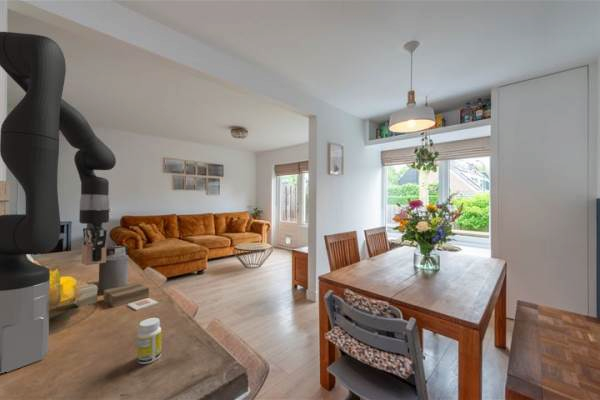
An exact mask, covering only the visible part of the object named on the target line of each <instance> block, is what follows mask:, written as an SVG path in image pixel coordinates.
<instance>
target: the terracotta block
mask: <svg viewBox="0 0 600 400" xmlns="http://www.w3.org/2000/svg"><path fill="white" fill-rule="evenodd" d="M98 244H99V243H98ZM106 247H107V244H106V243H105V248H103V249H102V258H101V261H96V262H94V261H92V250H93V249H92V244H88V245H84V244H82V245H81V264H82V265H85V266H91V265H99V263H105V262H106Z"/></svg>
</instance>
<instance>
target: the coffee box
mask: <svg viewBox="0 0 600 400" xmlns="http://www.w3.org/2000/svg"><path fill="white" fill-rule="evenodd" d="M128 247H129V246H127V245H107V246H106V256H110V255H113V254H114V255H128V253H129V252H128V251H129V249H128ZM128 256H129V255H128Z"/></svg>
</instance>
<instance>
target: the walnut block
mask: <svg viewBox="0 0 600 400" xmlns="http://www.w3.org/2000/svg"><path fill="white" fill-rule="evenodd" d="M149 292H150V288H149V287H148V286H145V285H143V284H141V283H138V282H135V283H134V282H133V283H128V285H124V286H120V287H115V288H111V289H106V290H104V294H102V296H103V297H102V298H103V299H104V300H105V301H106V302H105V301H104V300H103V301H104V302H105V303H107V302H108V303H109V304H108V303H107V304H108V305H110V306H111V307H112V308H117V307H120V306H124V305H127V304H130V303H133V302H136V301H140V300H143V299H147V298H150V297H149V296H150V293H149Z"/></svg>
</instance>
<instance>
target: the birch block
mask: <svg viewBox="0 0 600 400" xmlns="http://www.w3.org/2000/svg"><path fill="white" fill-rule="evenodd" d="M78 290H79V291H80V292H84V293H83V294H82V296H81V297H80V298H79V300H78V301H77V303H76V305H77V306H78V307H77V306H76V305H75V306H76V307H77V308H79V307H80V308H83V307H86V306H85V305H87V306H89V305H88V304H91V305H93V304H92V303H94V304H97V303H98V285H97V284H94V283H90V284H86V285H85V284H84V285H81V286H80V288H79V289H78ZM96 302H97V303H96ZM82 306H83V307H82Z"/></svg>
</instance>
